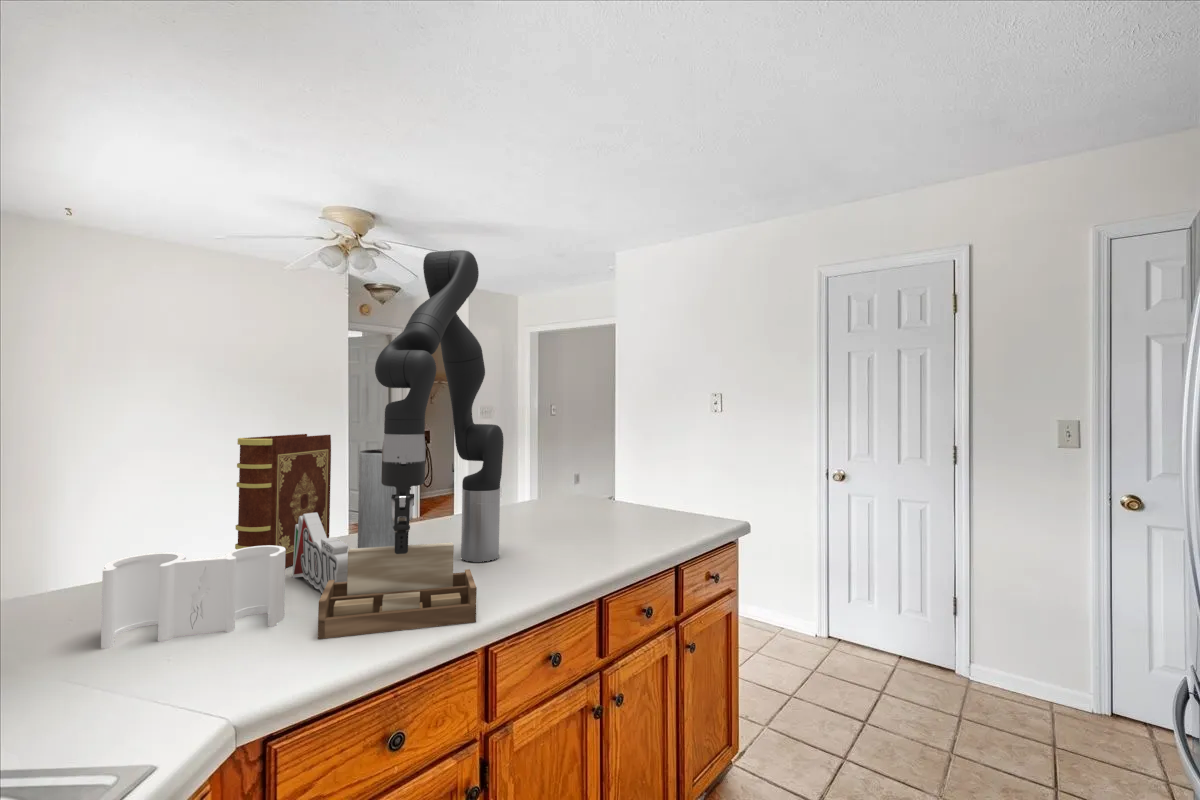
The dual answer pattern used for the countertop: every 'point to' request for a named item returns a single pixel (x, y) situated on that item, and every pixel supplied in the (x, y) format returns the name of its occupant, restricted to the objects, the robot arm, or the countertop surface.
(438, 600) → the offcut
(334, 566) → the decorative sign
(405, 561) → the sheet
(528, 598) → the countertop surface
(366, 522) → the vase
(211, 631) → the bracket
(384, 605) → the upper offcut
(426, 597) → the rack
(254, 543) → the decorative book
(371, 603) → the offcut
